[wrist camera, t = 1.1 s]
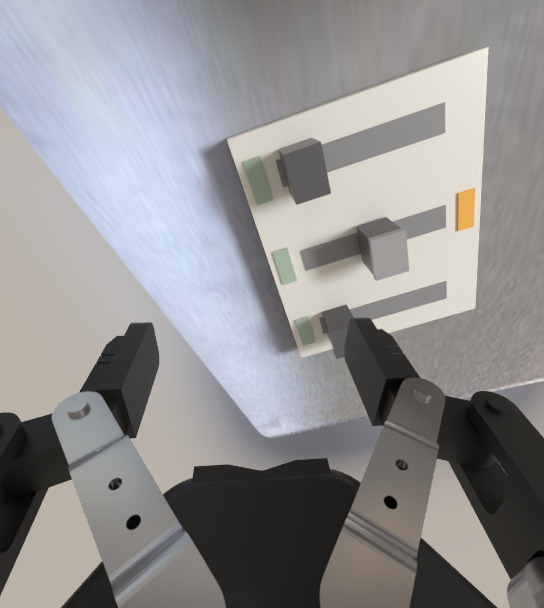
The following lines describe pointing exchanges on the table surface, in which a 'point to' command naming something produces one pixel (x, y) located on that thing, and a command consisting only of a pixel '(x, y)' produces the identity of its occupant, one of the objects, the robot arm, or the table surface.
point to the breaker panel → (372, 200)
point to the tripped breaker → (383, 248)
